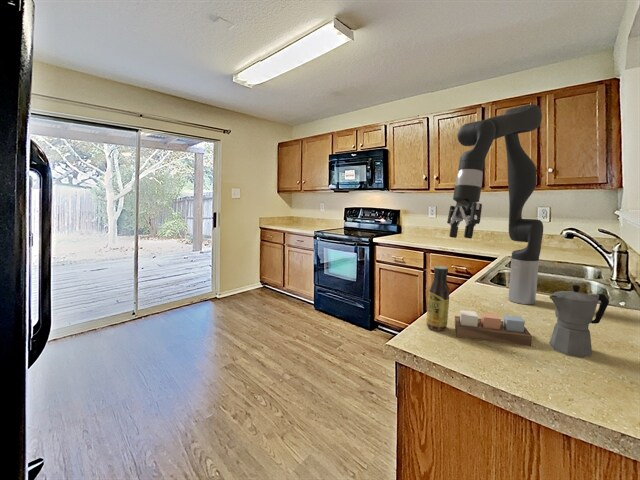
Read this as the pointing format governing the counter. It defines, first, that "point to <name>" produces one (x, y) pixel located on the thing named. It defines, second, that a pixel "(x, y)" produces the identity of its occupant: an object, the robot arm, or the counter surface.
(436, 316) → the sauce bottle
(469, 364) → the counter surface
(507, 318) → the slate button
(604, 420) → the counter surface
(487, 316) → the terracotta button
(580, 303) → the coffeepot
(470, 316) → the cream button
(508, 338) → the brown button board
